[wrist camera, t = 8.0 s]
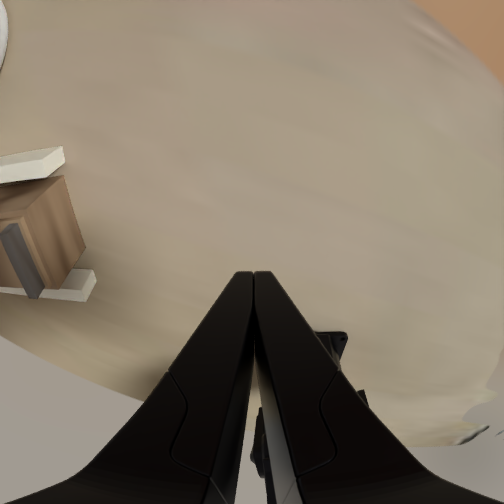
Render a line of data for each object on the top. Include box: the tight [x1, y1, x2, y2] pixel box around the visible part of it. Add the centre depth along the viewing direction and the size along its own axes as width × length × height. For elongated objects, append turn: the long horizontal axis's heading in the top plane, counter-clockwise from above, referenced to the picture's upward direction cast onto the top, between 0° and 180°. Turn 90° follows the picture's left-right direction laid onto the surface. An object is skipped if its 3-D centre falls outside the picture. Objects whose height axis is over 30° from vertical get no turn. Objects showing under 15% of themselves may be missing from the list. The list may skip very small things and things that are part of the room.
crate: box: [0, 175, 86, 299], centre depth 18 cm, size 9×6×7 cm, turn 92°
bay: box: [0, 146, 97, 302], centre depth 20 cm, size 12×11×2 cm
